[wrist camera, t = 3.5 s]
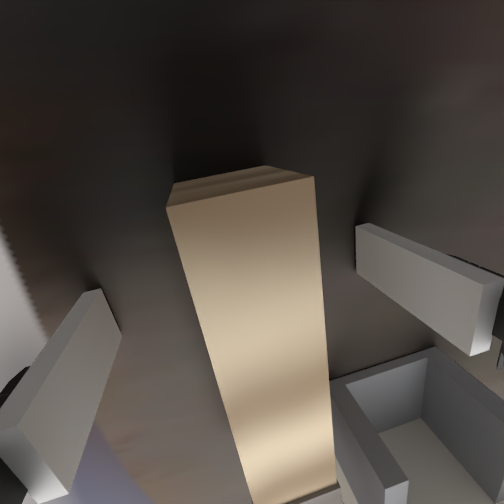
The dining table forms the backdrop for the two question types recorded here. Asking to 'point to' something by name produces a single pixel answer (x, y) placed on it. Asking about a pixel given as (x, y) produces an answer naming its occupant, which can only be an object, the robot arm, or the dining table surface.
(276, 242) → the rail
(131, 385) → the dining table surface
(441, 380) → the u-notched block
